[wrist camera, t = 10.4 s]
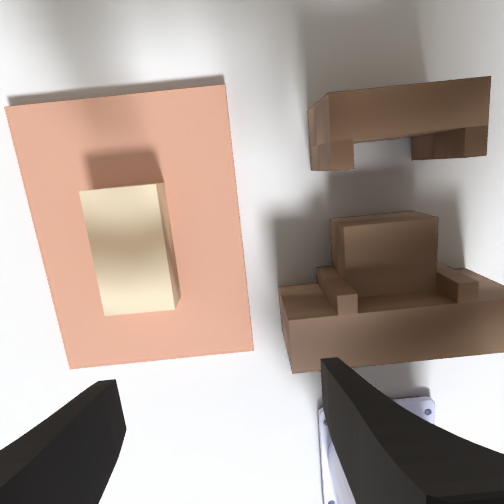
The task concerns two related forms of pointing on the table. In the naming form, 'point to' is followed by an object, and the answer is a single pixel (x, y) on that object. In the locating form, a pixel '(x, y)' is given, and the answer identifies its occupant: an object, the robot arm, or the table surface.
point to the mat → (180, 212)
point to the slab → (132, 248)
